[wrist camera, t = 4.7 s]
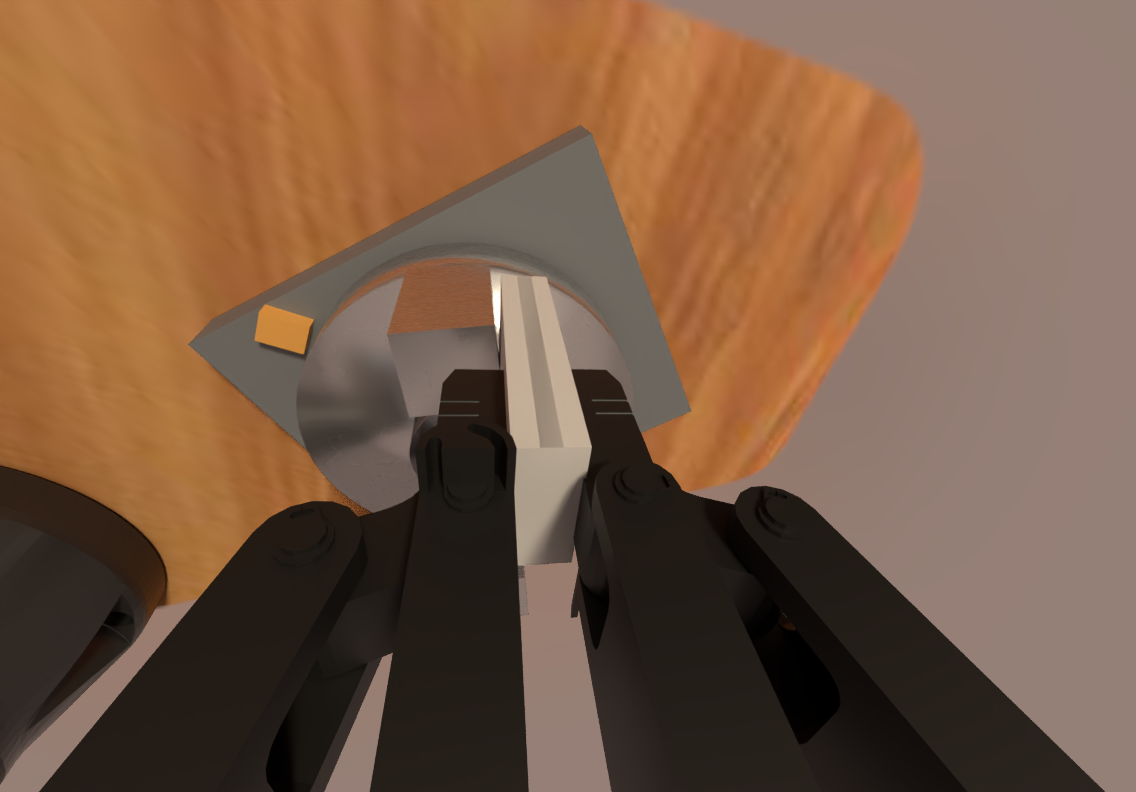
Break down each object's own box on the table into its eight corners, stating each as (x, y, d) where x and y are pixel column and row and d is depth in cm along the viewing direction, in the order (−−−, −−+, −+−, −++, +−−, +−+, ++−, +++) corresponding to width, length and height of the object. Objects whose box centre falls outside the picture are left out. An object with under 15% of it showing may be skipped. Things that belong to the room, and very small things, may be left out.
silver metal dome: (453, 522, 25) (447, 654, 19) (242, 360, 18) (143, 496, 12) (660, 407, 22) (720, 521, 17) (511, 169, 15) (532, 235, 10)
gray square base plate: (408, 506, 27) (402, 545, 25) (212, 319, 19) (180, 352, 17) (677, 387, 25) (695, 418, 23) (580, 125, 17) (595, 136, 15)
